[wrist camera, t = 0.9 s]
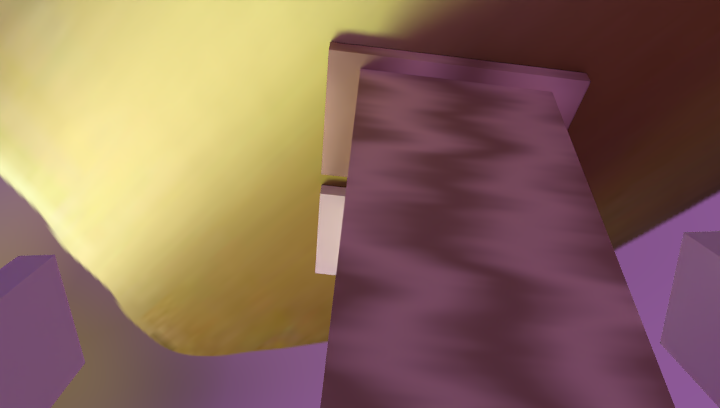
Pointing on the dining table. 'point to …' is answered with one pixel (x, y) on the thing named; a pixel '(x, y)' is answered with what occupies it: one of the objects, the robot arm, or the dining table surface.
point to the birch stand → (471, 243)
